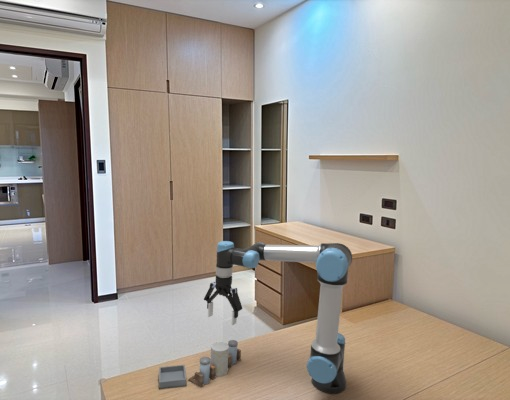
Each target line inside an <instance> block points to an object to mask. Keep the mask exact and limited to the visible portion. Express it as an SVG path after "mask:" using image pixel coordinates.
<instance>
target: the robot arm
mask: <svg viewBox="0 0 510 400" xmlns="http://www.w3.org/2000/svg"><path fill="white" fill-rule="evenodd" d="M260 261H267V262H269V261H272V262H275V261H276V262H292V263H310V264H311V263H313V264H315V269H316V272H317V275H316V276H317V277H316V279H317V280H316V281H317V282H319V284H320V288H319V297H318V298H319V300H318V307H317V318H316V319H317V320H316V331H315V339H313V340H312V341H311V344H310V351H309V352H310V354H309V355H310V356H309V358H308V360H307V363H306V370H307V373H308V375H309V376H310V377H311V384H312V385H313V386H314V388H316V389H317V390H319V391H320V392H324V393H327V394H339V393H342V392H344V391H345V390H346V387H347V379H346V375H345V371H344V361H345V351H346V350H345V347H346V338H345V336H344V335H343V334H342V333H340V332H339V325H340V315H341V306H342V305H341V304H342V295H343V288H344V287H345V286H346V285H347V284H348V278H349V277H348V275H349V269H350V267H351V265H352V262H353V254H352V251H351V249H349V247H348V246H347V245H345V244H344V243H339V242H335V243H334V242H333V243H331V242H330V243H323V242H322V243H319V245H314V244H313V245H312V244H311V245H309V244H308V245H307V244H306V245H305V244H268V243H267V244H266V243H265V244H264V243H263V242H257V243H254V244H252V245H250V246H248V247H246V248H239V247H238V248H237V247H235V244H234V242H233V241H229V240H222V241H219V242H218V243H217V245H216V264H215V265H216V266H215V281H213V282H211V283H209V288H208V289H207V291H206V293H205V296H203V297H204V298H203V300H204V301H206V303H207V305H206V309H207V317H208V318H210V317H212V316H213V315H214V301H213V300H214V299H215V298H216V297H218V295H219V296H222V297H225V298H226V299H227V301H228V303H229V304H230V306H231V308H232V309H233V310H232V311H231V312H232V313H231V326H234V325H236V324H237V318H238V317H239V312H240V311H242V310H243V306H242V302H241V299H240V296H239V293H238V288H237V287H235V288H234V287H232V284H233V268H234V267H233V266H238V267H244V268H247V269H249V268H250V269H255V268H256V267H258V265H259V264H260V263H259V262H260ZM214 290H215V291H214Z"/></svg>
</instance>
